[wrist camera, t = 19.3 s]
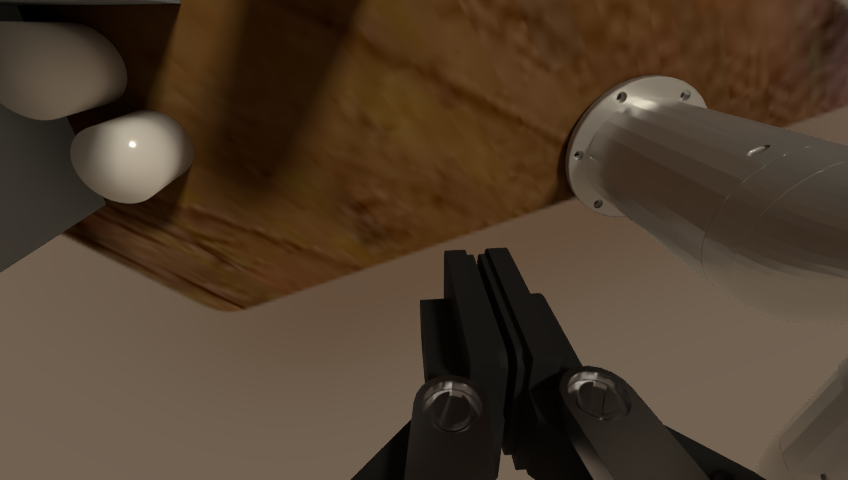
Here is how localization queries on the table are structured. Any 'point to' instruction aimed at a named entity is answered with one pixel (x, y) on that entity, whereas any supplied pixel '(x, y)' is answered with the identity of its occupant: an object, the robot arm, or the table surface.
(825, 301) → the robot arm
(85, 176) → the cream smooth rounded cylinder
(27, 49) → the cream rounded knob
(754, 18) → the table surface
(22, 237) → the counter
